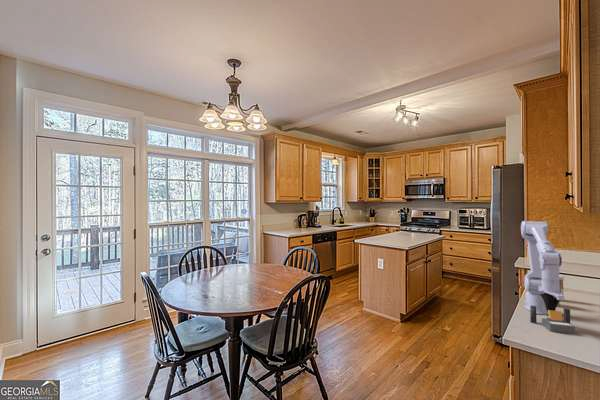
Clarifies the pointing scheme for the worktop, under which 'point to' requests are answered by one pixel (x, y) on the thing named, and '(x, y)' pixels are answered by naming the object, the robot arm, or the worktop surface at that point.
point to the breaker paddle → (555, 315)
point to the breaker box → (558, 326)
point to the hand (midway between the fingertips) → (550, 311)
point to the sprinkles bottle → (561, 284)
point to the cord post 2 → (567, 315)
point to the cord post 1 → (533, 314)
